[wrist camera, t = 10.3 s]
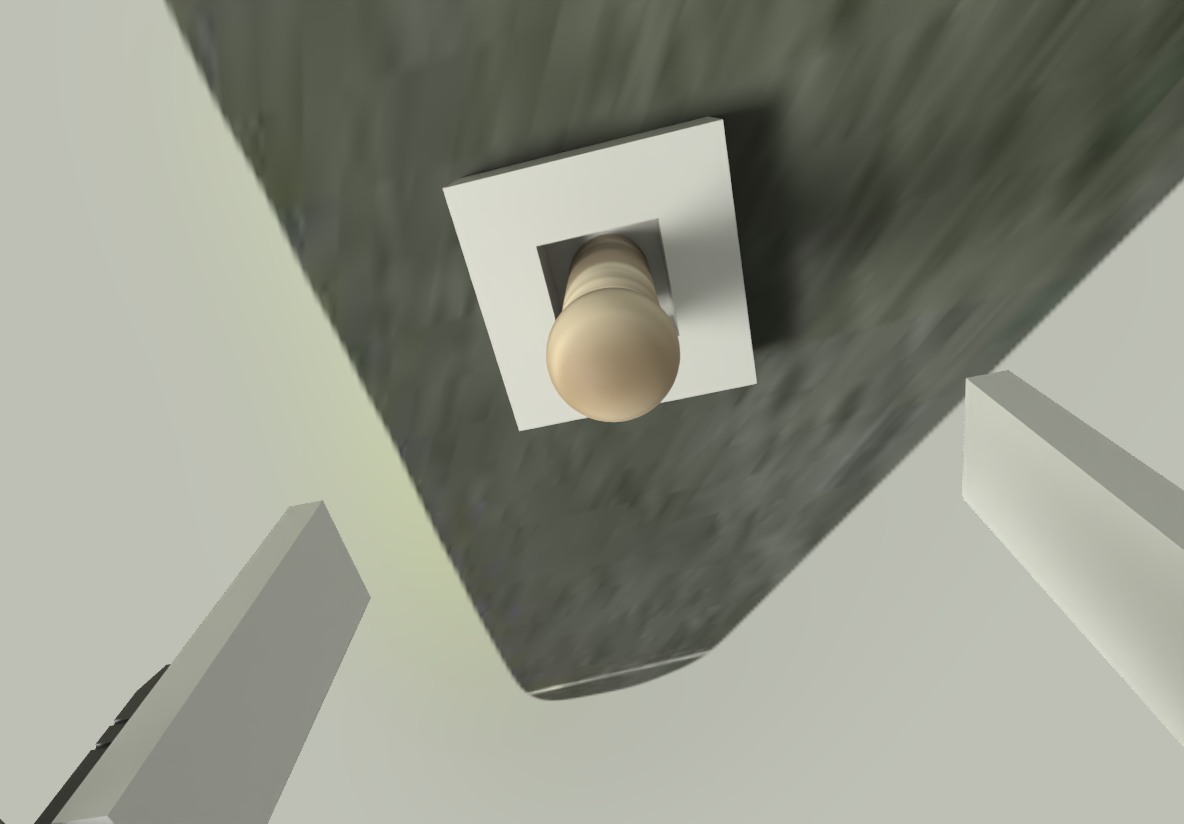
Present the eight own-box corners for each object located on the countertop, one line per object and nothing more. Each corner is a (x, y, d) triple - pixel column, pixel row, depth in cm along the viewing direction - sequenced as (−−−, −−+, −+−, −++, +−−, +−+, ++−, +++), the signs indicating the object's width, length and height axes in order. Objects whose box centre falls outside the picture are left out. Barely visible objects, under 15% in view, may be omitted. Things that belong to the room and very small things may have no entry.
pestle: (553, 239, 32) (523, 328, 19) (646, 218, 31) (674, 295, 19) (575, 327, 33) (560, 457, 21) (663, 308, 33) (698, 431, 21)
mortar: (461, 177, 31) (442, 188, 27) (708, 116, 30) (722, 119, 26) (527, 397, 36) (519, 431, 33) (740, 353, 35) (756, 383, 31)
